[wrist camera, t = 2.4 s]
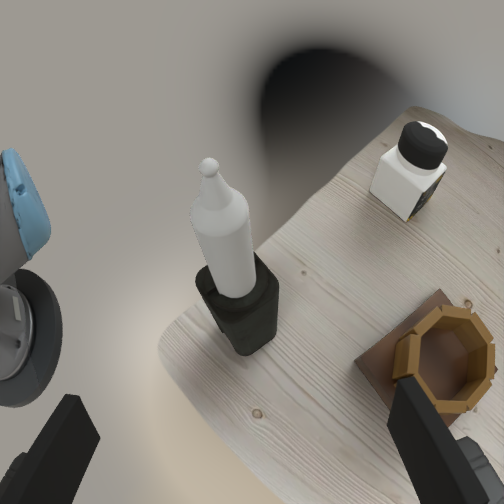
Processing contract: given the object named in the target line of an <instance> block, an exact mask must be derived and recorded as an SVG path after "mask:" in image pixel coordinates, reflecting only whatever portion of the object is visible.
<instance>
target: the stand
mask: <svg viewBox="0 0 504 504" xmlns="http://www.w3.org/2000/svg"><path fill="white" fill-rule="evenodd" d="M492 340H493V336H492V335H491V333H490V332H489V331H488V329H487V328H486V326H485V325H484V323H483V322H482V321H481V319H480V318H479V316H478V315H477V314H476V312H474V313H472V314H471V309H468V308H461V307H455V306H453V304H452V303H451V302H450V300H449V299H448V298H447V297H446V295H445V294H444V293H443V291H442V290H441V289H438V290H437V291H436V292H435V293H434V294H433V295H432V296H431V297H430V298H429V299H427V300H426V301H425V302H424V303H423V304H422V305H421V306H420V307H419V308H418V309H416V310H415V311H414V312H413V313H412V314H411V315H410V316H408V317H407V318H406V319H405V320H404V321H403V322H402V323H400V324H399V325H398V326H397V327H396V328H394V329H393V330H392V331H391V332H390V333H388V334H387V335H386V336H385V337H384V338H382V339H381V340H380V341H379V342H377V343H376V344H375V345H374V346H372V347H371V348H370V349H369V350H367V351H366V352H365V353H363V354H362V355H361V356H359V357H358V358H357V359H356V360H354V361H355V363H356V364H357V365H358V367H359V368H360V369H361V371H362V372H363V374H364V375H365V376H366V378H367V379H368V381H369V382H370V383H371V385H372V386H373V387H374V389H375V390H376V392H377V393H378V394H379V396H380V397H381V399H382V400H383V401H384V403H385V404H386V406H387V407H388V408H389V410H390V411H391V407H392V403H393V398H394V394H395V389H396V385H397V380H399V379H403V378H408V377H412V376H414V377H415V378H416V380H417V381H418V383H419V384H420V386H421V387H422V389H423V390H424V392H425V393H426V395H427V396H428V398H429V399H430V401H431V402H432V404H433V405H434V407H435V408H436V410H437V412H438V413H439V415H440V416H441V418H442V419H443V421H444V423H445V424H446V426H447V427H449V426H450V425H451V424H452V423H453V422H454V421H455V420H456V419H457V418H458V417H459V415H460V414H461V413H466V411H470V410H471V409H472V408H473V407H474V406H475V405H476V404H477V402H478V401H479V400H480V399H481V398H482V397H483V395H484V394H485V393H486V392H487V390H488V389H489V388H490V387H491V385H492V383H491V382H490V380H492V379H494V374H495V373H496V372H497V370H498V369H497V367H496V366H495V344H492V343H490V342H491V341H492Z"/></svg>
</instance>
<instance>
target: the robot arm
mask: <svg viewBox="0 0 504 504" xmlns="http://www.w3.org/2000/svg"><path fill="white" fill-rule="evenodd" d="M50 234H51V225H50V221H49V218H48V215H47V213H46V210H45V207H44V205H43V203H42V201H41V198H40V196H39V194H38V191H37V190H36V187H35V185H34V183H33V181H32V179H31V177H30V175H29V172H28V171H27V169H26V167H25V165H24V163H23V161H22V159H21V157H20V156H19V154H18V153H17V152H16V151H15V150H14V149H12V148H10V149H8V150H4V151H3V152H2V153H1V155H0V381H8V380H11V379H13V378H14V377H16V376H17V375H18V374H19V373H20V372H21V371H22V370H23V369H24V367H25V366H26V364H27V362H28V361H29V358H30V356H31V354H32V351H33V347H34V343H35V337H36V318H35V313H34V309H33V306H32V304H31V302H30V300H29V299H28V297H27V296H26V295H25V294H24V293H22V292H21V291H19V290H18V289H16V288H14V287H12V286H9V285H1V284H2V283H3V282H4V281H5V280H6V279H7V278H9V277H10V276H11V275H12V274H13V273H14V272H16V271H17V270H18V269H19V268H20V267H21V266H23V265H24V264H25V263H26V262H27V261H29V260H31V259H32V257H33V255H34V254H35V253H36V252H37V251H38V250H40V248H42V247H43V246H44V245H45V244H46V243H47V241H48V240H49V238H50ZM387 427H388V429H389V431H390V434H391V436H392V438H393V440H394V443H395V445H396V447H397V449H398V452H399V454H400V456H401V458H402V461H403V463H404V465H405V468H406V470H407V472H408V475H409V477H410V479H411V482H412V484H413V486H414V489H415V491H416V494H417V496H418V498H419V501H420V503H421V504H504V485H503V483H502V481H501V480H500V478H499V477H498V475H497V473H496V472H495V470H494V468H493V467H492V465H491V464H490V463H489V460H488V459H487V457H486V456H485V455H484V453H483V451H482V450H481V448H480V447H479V445H478V443H476V442H475V441H473V440H472V439H471V438H469V437H468V436H466V437H464V438H461V439H459V440H455V439H454V437H453V435H452V434H451V432H450V430H449V429H448V427H447V426H446V424H445V423H444V421H443V419H442V418H441V416H440V415H439V413H438V412H437V410H436V408H435V407H434V405H433V404H432V402H431V401H430V399H429V398H428V396H427V395H426V393H425V392H424V390H423V389H422V387H421V386H420V384H419V383H418V381H417V380H416V378H415V377H414V376H412V377H408V378H403V379H399V380H397V385H396V389H395V394H394V398H393V403H392V407H391V411H390V415H389V419H388V423H387ZM99 440H100V436H99V434H98V432H97V430H96V428H95V426H94V425H93V423H92V421H91V419H90V417H89V415H88V413H87V411H86V409H85V407H84V405H83V403H82V401H81V398H80V396H77V395H70V394H65V395H64V397H63V398H62V400H61V401H60V403H59V404H58V406H57V407H56V409H55V410H54V412H53V413H52V415H51V416H50V418H49V420H48V421H47V423H46V424H45V426H44V427H43V429H42V430H41V432H40V434H39V435H38V437H37V438H36V440H35V441H34V443H33V445H32V446H31V448H30V449H29V451H28V453H24V452H22V453H21V454H20V455H19V456H17V457H16V458H15V459H14V461H13V462H12V464H11V465H10V467H9V469H8V470H7V472H6V474H5V476H4V477H3V479H2V480H1V482H0V504H72V502H73V500H74V497H75V495H76V492H77V490H78V488H79V485H80V483H81V481H82V478H83V476H84V474H85V472H86V469H87V467H88V465H89V463H90V460H91V458H92V456H93V454H94V451H95V449H96V447H97V445H98V443H99Z"/></svg>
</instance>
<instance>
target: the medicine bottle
mask: <svg viewBox="0 0 504 504" xmlns="http://www.w3.org/2000/svg"><path fill="white" fill-rule="evenodd" d="M447 150H448V145H447V142H446V139H445V137H444V136H443V135H442V134H441V132H439V131H438V130H437V129H436V128H434V127H433V126H431V125H429V124H426V123H423V122H418V121H414V122H410V123H407V124H406V125H405V126H404V128H403V131H402V134H401V137H400V139H399V142H398V144H397V145H396V146H394V147H393V148H392V149H390V150H389V151H388V152H386V153H385V154H384V155H382V156H381V158H380V161H379V164H378V167H377V169H376V172H375V175H374V178H373V181H372V184H371V187H370V189H369V190H370V192H371V193H372V194H373V195H374V196H376V197H377V198H378V199H379V200H380V201H382V202H383V203H384V204H385V205H386V206H387V207H389V208H390V209H391V210H392V211H393V212H394V213H395V214H397V215H398V216H399V217H400V218H401V219H402V220H403V221H405V222H408V221H409V220H410V219H411V218H412V217H413V216H414V215H415V214H416V213H417V212H418V211H419V210H420V209H421V208H422V207H423V206H424V204H425V203H426V202H427V201H428V200H429V199H430V198H431V196H432V194H433V193H434V191H435V189H436V187H437V186H438V184H439V182H440V180H441V178H442V177H443V175H444V173H445V171H446V169H447V167H446V166H445V165H444V164H443V163H442V160H443V158H444V156H445V154H446V152H447Z"/></svg>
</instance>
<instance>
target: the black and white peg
mask: <svg viewBox="0 0 504 504" xmlns="http://www.w3.org/2000/svg"><path fill="white" fill-rule="evenodd" d="M218 170H219V165H218V162H217V161H216V160H215V159H212V158H206V159H204V160H203V161H201V163H200V164H199V172H200V173H201V174H202V181H201V187H200V193H199V195H198V196H197V197H196V199H195V200H194V202H193V204H192V206H191V210H190V218H191V223H192V226H193V228H194V231H195V234H196V236H197V239H198V241H199V244H200V247H201V249H202V252H203V254H204V257H205V260H206V262H207V266H205V267H203V268H202V269H201V270H200V271H199V272H198V273H197V276H196V280H195V283H196V287H197V288H198V290H199V292H200V294H201V296H202V298H203V300H204V301H205V303H206V305H207V307H208V309H209V310H210V312H211V314H212V316H213V318H214V319H215V321H216V323H217V325H218V326H219V328H220V330H221V332H222V333H225V334H226V336H227V337H228V339H229V340H230V341H231V343H232V345H233V347H234V349H235V351H236V352H237V353H238V354H239V355H242V356H248V355H251V354H252V353H254V352H255V351H257V350H258V349H259V348H261V347H262V346H263V345H265V344H266V343H268V342H269V341H270V340H272V339H273V338H274V337H275V335H276V331H277V315H278V299H279V282H278V280H277V278H276V277H275V276H274V274H273V273H272V272H271V271H270V270H269V269H268V267H267V266H266V265H265V264H264V263H263V262H262V260H261V259H260V258H259V257H258V256H257V255H256V253H255V252H254V251H253V245H252V234H251V226H250V216H249V207H248V204H247V201H246V199H245V198H244V197H243V195H242V194H241V193H239V192H238V191H237V190H235V189H233V188H231V187H229V186H228V185H227V183H226V182H225V181H224V180H223V178H222V176H221V175H220V174H219V172H218Z"/></svg>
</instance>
